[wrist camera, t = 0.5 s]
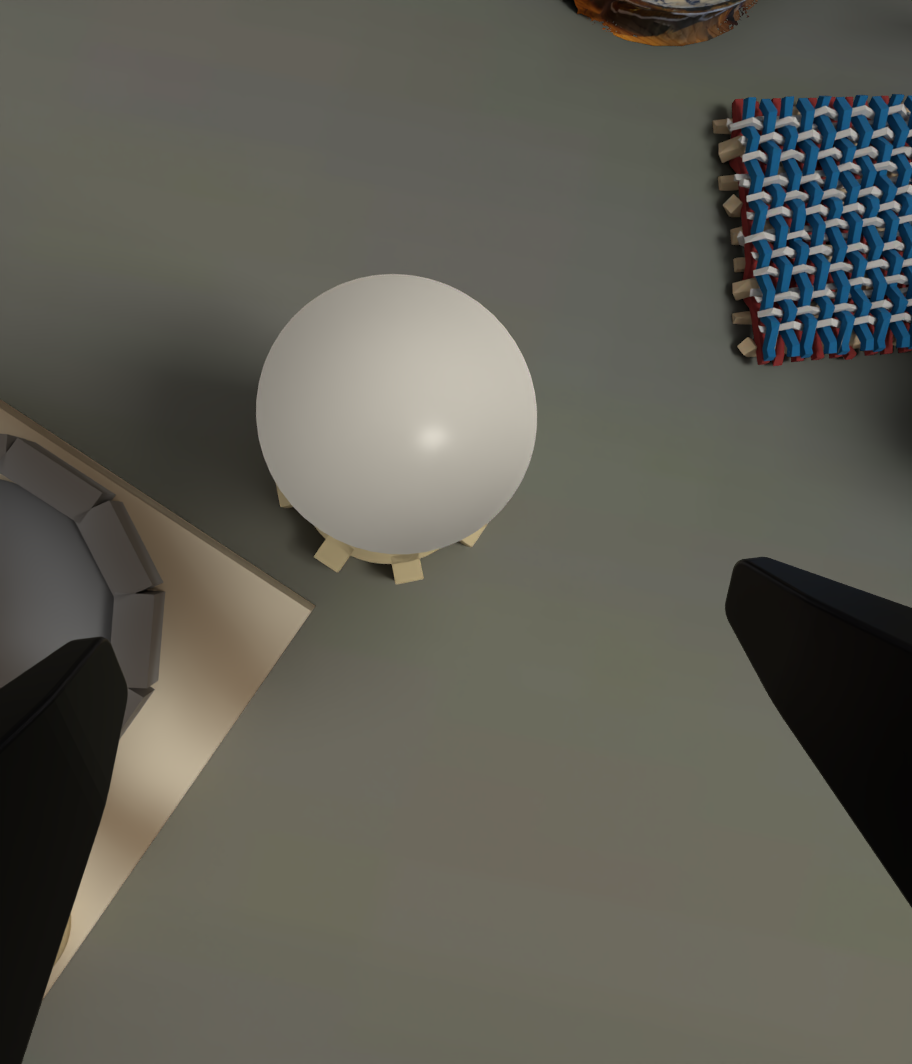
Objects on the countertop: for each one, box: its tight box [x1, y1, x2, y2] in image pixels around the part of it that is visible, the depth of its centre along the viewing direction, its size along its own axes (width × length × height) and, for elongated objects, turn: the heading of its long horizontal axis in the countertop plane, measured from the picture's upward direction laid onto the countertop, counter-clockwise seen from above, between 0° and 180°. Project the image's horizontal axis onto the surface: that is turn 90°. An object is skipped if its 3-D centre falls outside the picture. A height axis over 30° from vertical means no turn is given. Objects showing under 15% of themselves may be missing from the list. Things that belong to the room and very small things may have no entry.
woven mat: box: [713, 94, 912, 366], centre depth 25 cm, size 10×11×2 cm
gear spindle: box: [256, 274, 537, 584], centre depth 17 cm, size 8×8×12 cm
